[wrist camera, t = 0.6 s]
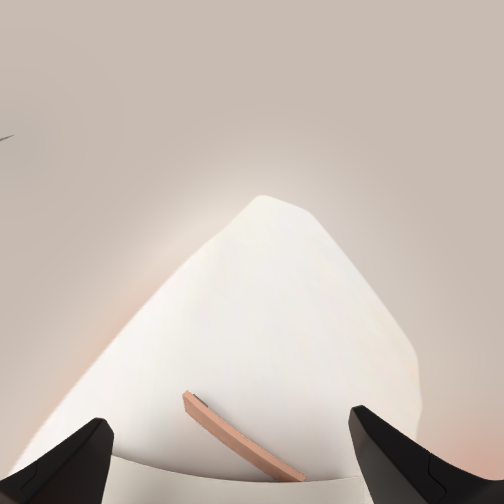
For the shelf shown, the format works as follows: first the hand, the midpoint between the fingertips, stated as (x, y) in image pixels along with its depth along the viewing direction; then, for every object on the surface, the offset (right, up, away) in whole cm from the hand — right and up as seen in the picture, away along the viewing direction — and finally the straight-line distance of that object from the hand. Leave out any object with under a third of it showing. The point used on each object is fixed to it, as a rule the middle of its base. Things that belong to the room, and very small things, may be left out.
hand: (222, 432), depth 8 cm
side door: (0, -12, +12) cm, 17 cm away
